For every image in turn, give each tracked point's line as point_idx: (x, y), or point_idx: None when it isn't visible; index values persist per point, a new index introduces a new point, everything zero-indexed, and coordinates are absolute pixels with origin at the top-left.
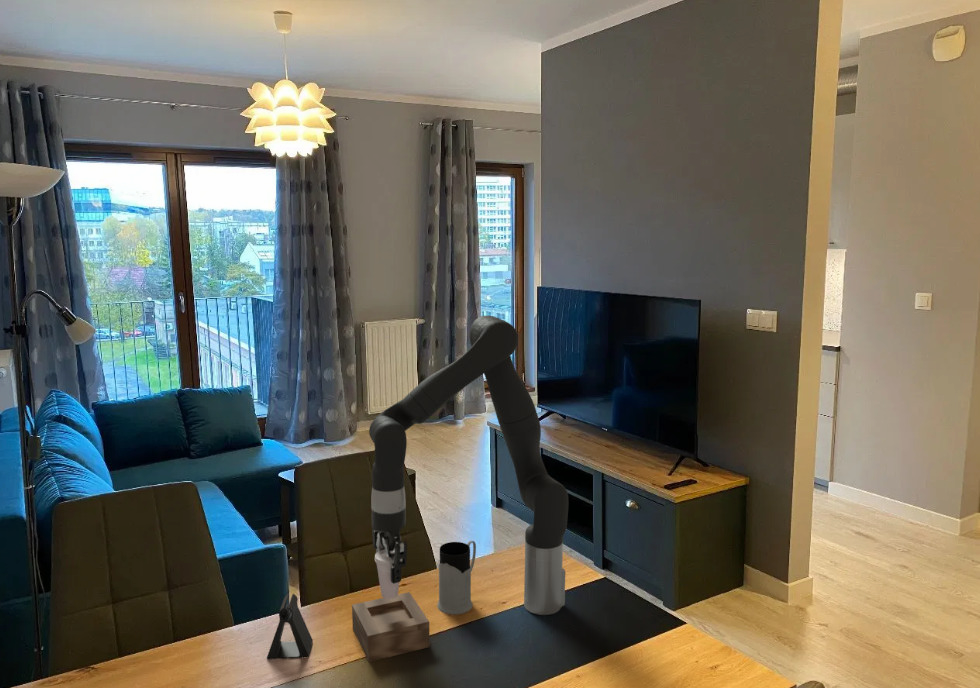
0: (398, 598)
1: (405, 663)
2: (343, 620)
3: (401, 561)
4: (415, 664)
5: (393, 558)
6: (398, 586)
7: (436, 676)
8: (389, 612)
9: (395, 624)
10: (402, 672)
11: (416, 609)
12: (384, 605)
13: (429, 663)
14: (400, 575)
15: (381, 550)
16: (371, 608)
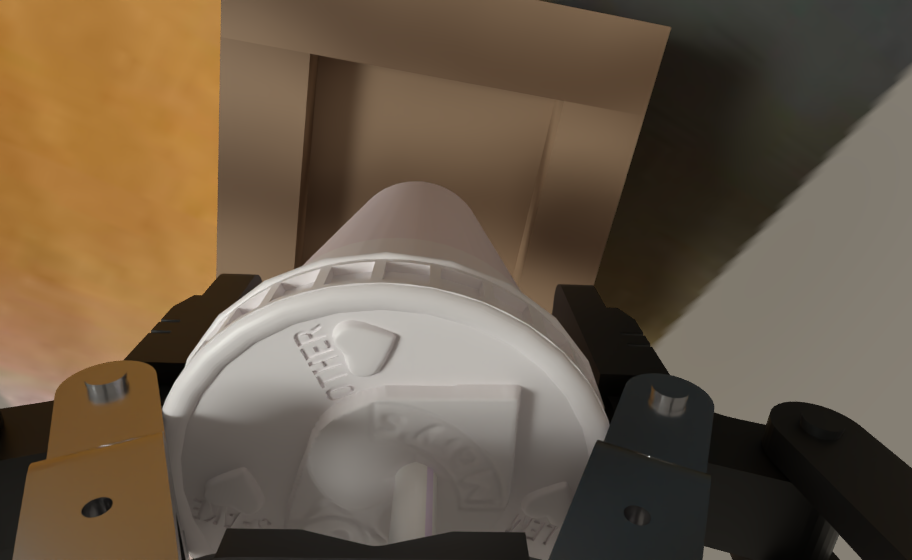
0: (275, 63)
1: (652, 197)
2: (165, 284)
3: (790, 491)
4: (689, 162)
5: (534, 484)
6: (476, 221)
7: (831, 125)
8: (352, 159)
9: (557, 230)
10: (696, 237)
11: (481, 24)
12: (302, 178)
13: (731, 101)
14: (644, 342)
15: (183, 524)
16: (297, 258)
